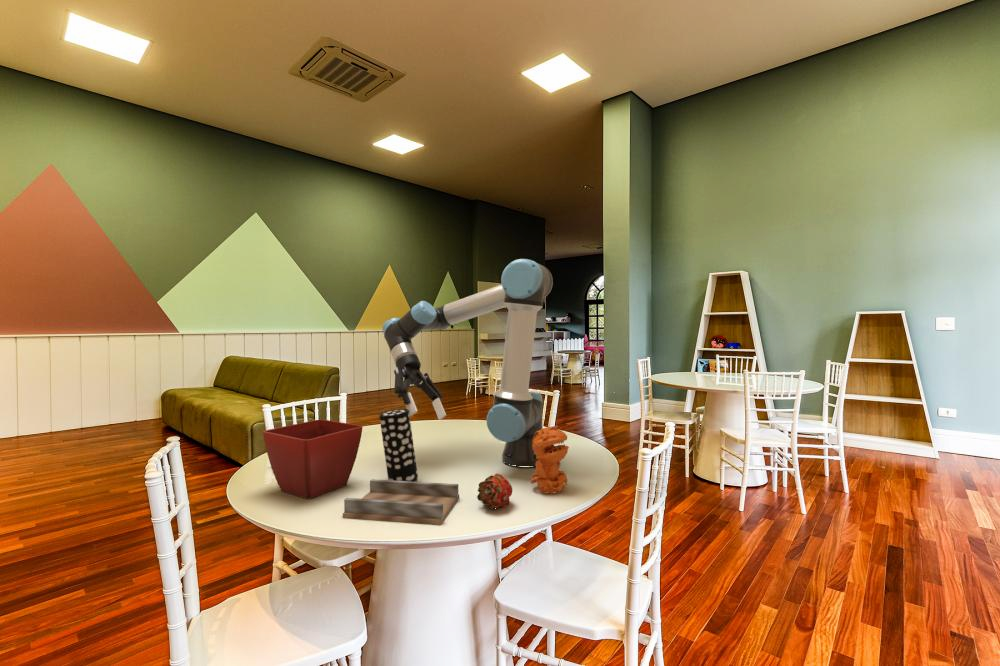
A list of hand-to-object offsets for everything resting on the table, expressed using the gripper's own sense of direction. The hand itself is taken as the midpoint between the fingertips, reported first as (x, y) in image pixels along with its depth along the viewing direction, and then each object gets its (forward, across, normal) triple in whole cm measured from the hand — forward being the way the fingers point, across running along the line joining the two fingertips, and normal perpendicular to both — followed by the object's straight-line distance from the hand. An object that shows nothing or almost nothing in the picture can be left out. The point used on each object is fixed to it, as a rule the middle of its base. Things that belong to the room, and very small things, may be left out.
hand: (428, 415), depth 137 cm
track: (+25, +17, -6) cm, 31 cm away
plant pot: (+6, +20, -31) cm, 37 cm away
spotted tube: (+14, +4, -13) cm, 20 cm away
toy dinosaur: (+35, -12, +19) cm, 42 cm away
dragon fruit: (+34, +4, +11) cm, 36 cm away
